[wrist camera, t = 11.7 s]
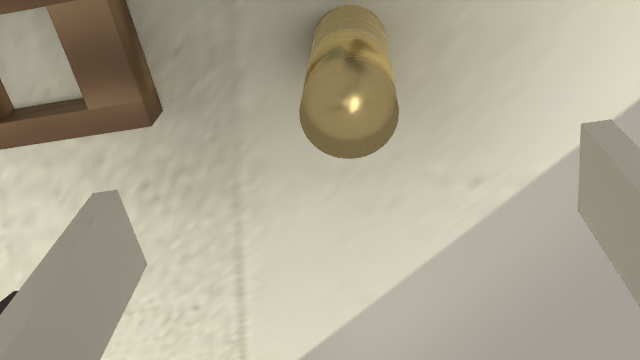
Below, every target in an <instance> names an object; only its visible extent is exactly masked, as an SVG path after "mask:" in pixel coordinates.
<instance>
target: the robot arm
mask: <svg viewBox="0 0 640 360" xmlns="http://www.w3.org/2000/svg"><path fill="white" fill-rule="evenodd" d="M578 212H579V213H580V215H581V217H582V218H583V220H584V221H585V223H586V224H587V226H588V227H589V229H590V230H591V232H592V233H593V235H594V236H595V238H596V240H597V241H598V243H599V244H600V246H601V247H602V249H603V250H604V252H605V254H606V255H607V257H608V258H609V260H610V261H611V263H612V264H613V266H614V267H615V269H616V270H617V272H618V274H619V275H620V277H621V278H622V280H623V281H624V283H625V285H626V286H627V288H628V289H629V291H630V292H631V294H632V295H633V297H634V298H635V300H636V301H637V303H638V305H639V306H640V148H639V147H638V146H637V145H636V144H635V143H634V142H633V141H632V140H631V139H630V138H629V137H628V136H627V135H626V134H625V133H624V132H623V131H622V130H621V129H620V128H619V127H618V126H617V125H616V124H615V123H614V122H613V121H612V120H604V121H597V122H590V123H583V124H581V137H580V166H579V191H578ZM146 266H147V263H146V260H145V258H144V255H143V253H142V250H141V248H140V245H139V243H138V240H137V238H136V235H135V233H134V230H133V228H132V226H131V223H130V221H129V218H128V216H127V213H126V211H125V208H124V206H123V203H122V201H121V198H120V196H119V193H118V191H117V190H114V191H107V192H100V193H93V194H92V195H91V196H90V198H89V199H88V200H87V202H86V203H85V204H84V206H83V207H82V208H81V210H80V211H79V212H78V214H77V215H76V216H75V217H74V219H73V220H72V221H71V223H70V224H69V225H68V227H67V228H66V229H65V231H64V232H63V233H62V235H61V236H60V237H59V239H58V240H57V241H56V242H55V244H54V245H53V246H52V248H51V249H50V250H49V252H48V253H47V254H46V256H45V257H44V258H43V260H42V261H41V262H40V263H39V265H38V266H37V267H36V269H35V270H34V271H33V273H32V274H31V275H30V277H29V278H28V279H27V281H26V282H25V283H24V284H23V286H22V287H21V288H20V290H19V291H13V292H12V293H11V294H10V295H8V296H7V297H6V298H5V299H3V300H2V301H1V302H0V360H100V359H101V357H102V355H103V353H104V351H105V349H106V347H107V345H108V343H109V341H110V339H111V337H112V335H113V332H114V330H115V328H116V326H117V324H118V322H119V320H120V318H121V316H122V314H123V312H124V310H125V308H126V306H127V304H128V302H129V300H130V298H131V296H132V294H133V292H134V290H135V288H136V286H137V284H138V282H139V280H140V278H141V276H142V274H143V272H144V270H145V268H146Z"/></svg>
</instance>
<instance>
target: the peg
mask: <svg viewBox="0 0 640 360" xmlns="http://www.w3.org/2000/svg"><path fill="white" fill-rule="evenodd" d="M398 115H399V110H398V103H397V97H396V92H395V86H394V80H393V75H392V69H391V64H390V58H389V53H388V47H387V41H386V36H385V31H384V28H383V26H382V24H381V22H380V21H379V20H378V18H377V17H376V16H375V15H374V14H372V13H371V12H370V11H368V10H366V9H364V8H361V7H357V6H343V7H339V8H337V9H334V10H332V11H331V12H329V13H328V14H326V15H325V16H324V17H323V18H322V20H321V21H320V22H319V24H318V26H317V28H316V31H315V34H314V39H313V44H312V49H311V54H310V59H309V64H308V69H307V74H306V79H305V84H304V89H303V94H302V99H301V104H300V122H301V125H302V128H303V131H304V133H305V135H306V136H307V138H308V139H309V140H310V142H311V143H312V144H313V145H314V146H315V147H317V148H318V149H319V150H321V151H323V152H324V153H326V154H329V155H331V156H334V157H338V158H348V159H351V158H359V157H363V156H367V155H369V154H371V153H374V152H375V151H377V150H379V149H380V148H381V147H382V146H384V145H385V144H386V143H387V142H388V140H389V139H390V138H391V136H392V135H393V133H394V131H395V128H396V126H397V122H398Z"/></svg>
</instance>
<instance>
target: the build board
mask: <svg viewBox="0 0 640 360" xmlns="http://www.w3.org/2000/svg"><path fill="white" fill-rule="evenodd" d="M44 6H46V7H47V10H48V12H49V15H50V17H51V19H52V22H53V24H54V27H55V29H56V32H57V34H58V37H59V39H60V41H61V44H62V46H63V49H64V51H65V54H66V56H67V59H68V61H69V63H70V66H71V68H72V71H73V73H74V76H75V78H76V81H77V83H78V85H79V88H80V90H81V93H82V95H83V98H80V99H74V100H68V101H62V102H56V103H50V104H44V105H38V106H31V107H25V108H19V109H14V108H13V106H12V104H11V102H10V100H9V98H8V95H7V93H6V91H5V89H4V87H3V85H2V83H1V81H0V149H7V148H13V147H20V146H26V145H33V144H39V143H46V142H52V141H59V140H65V139H72V138H78V137H85V136H91V135H98V134H104V133H111V132H117V131H124V130H130V129H137V128H143V127H150V126H152V125H153V124H154V122H155V121H156V119H157V118H158V117H159V115H160V114H161V112H162V111H163V110H162V107H161V104H160V101H159V98H158V95H157V92H156V90H155V87H154V84H153V81H152V78H151V75H150V72H149V69H148V66H147V63H146V60H145V57H144V54H143V51H142V48H141V46H140V43H139V40H138V37H137V34H136V31H135V28H134V25H133V22H132V19H131V16H130V13H129V10H128V7H127V4H126V2H125V0H0V15H1V14H6V13H12V12H17V11H22V10H28V9H33V8H38V7H44Z"/></svg>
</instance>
